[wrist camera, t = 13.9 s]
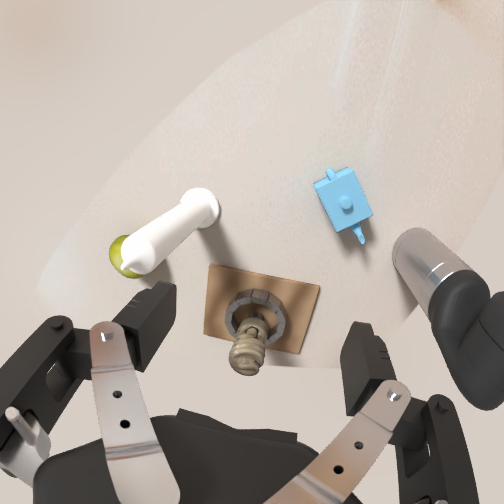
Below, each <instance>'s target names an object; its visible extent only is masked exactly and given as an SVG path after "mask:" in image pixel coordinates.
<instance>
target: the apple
mask: <svg viewBox="0 0 504 504" xmlns="http://www.w3.org/2000/svg"><path fill="white" fill-rule="evenodd" d="M129 236H130V235H124V236H120V237H118V238H117V239H116V240H115V241H114V242H113V243H112V245H111V246H110V250H109V258H110V261H111V263H112V265H113V266H114V267H115V269H116V270H117V271H118V272H119V273H121V274H122V275H123V276H125V277H127V278H132V279H136V278H140V277H142V276H143V275H145V274H137V273H135V272H133V271H131V270H130V269H126V270H124V271H123V270H121V265H122V264H123V262H124V261H123V259H122V256H121V247H122V244H123V242H124V240H125V239H126V238H127V237H129Z"/></svg>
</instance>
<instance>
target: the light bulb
mask: <svg viewBox="0 0 504 504" xmlns="http://www.w3.org/2000/svg"><path fill="white" fill-rule="evenodd" d="M267 335H268V328H267V325H266V323H265V322H264V318H263V316H262V314H261V313H260V312H253V313H251V314H250V316H249V318H247V319H245V320H243V321H242V323H241V324H240V326H239V328H238V331H237V338H236V339H235V341H234V344H233V346H232V349H231V351H230V353H229V363H230V365H231V367H232V368H233V369H234V370H235V371H236V372H238V373H239V374H242V375H246V376H253V375H256V374H257V373H258V372H259V368H260V367H261V366H262V365H263V363H264V357H265V346H264V344H265V343H266V340H267Z"/></svg>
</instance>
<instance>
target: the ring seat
mask: <svg viewBox="0 0 504 504" xmlns="http://www.w3.org/2000/svg"><path fill="white" fill-rule="evenodd" d="M248 303H257V304H262V305H265V306H267V307H268V308H269V309H271V310H272V311H273V312H275V314H276V317H277V319H278V323H277V324H276V325H275V326H274V327H273V328H271V329H270V330H268V335H267V340H266V343H265V344H264V345H268V344H272V343H273V342H275V341H276V340H277V339H278V338H280V337H281V336H282V335H283V331H284V328H285V324H286V310H285V308H284V305H283V303H282V301H281V300H280V299H279V298H278V297H276V296H275V295H274V294H273V293H271V292H269V291H266V290H261V289H256V288H254V289H253V288H252V289H248V290H244V291H240V292H238V293H237V294H236V295H235V296H234V298H233V299H232V300H231V301H230V302H229V305H228V307H227V309H226V314H225V325H226V327H227V329H228V331H229V333H230V335H231V336H233V337H234V338H237V331H238V328H239V326H240V324H239V323H238V321H237V319H236V317H235V315H234V312H235V310H236V309H237V308H238V307H239V306H240V305H244V304H248Z"/></svg>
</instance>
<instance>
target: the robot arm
mask: <svg viewBox="0 0 504 504" xmlns="http://www.w3.org/2000/svg"><path fill="white" fill-rule="evenodd" d="M392 259H393V263H394V265H395V267H396V269H397V270H398V272H399V273H400V275H401V276H402V278H403V280H404V281H405V283H406V284H407V286H408V287H409V289H410V290H411V292H412V293H413V295H414V296H415V298H416V300H417V301H418V303H419V304H420V306H421V308H422V309H423V311H424V312H425V314H426V316H427V317H428V319H429V321H430V322H431V328H432V332H433V335H434V337H435V339H436V341H437V343H438V345H439V348H440V350H441V352H442V355H443V357H444V359H445V362H446V364H447V367H448V369H449V371H450V373H451V376H452V378H453V380H454V381H455V384H456V385H457V387H458V389H459V390H460V392H461V393H462V394H463V396H464V397H465V398H466V399H467V400H468V401H469V402H470V403H471V404H472V405H473V406H475V407H476V408H479V409H481V410H485V411H488V410H493V409H495V408H497V407H498V406H499V405H501V404H502V403H503V402H504V291H502V292H498V293H496V294H494V295H493V297H492V298H491V299H490V291H489V288H488V285H487V284H486V282H485V281H484V280H483V279H482V278H481V277H480V276H479V275H478V274H477V273H476V272H475V271H474V270H473V269H471V268H470V267H469V266H468V265H467V264H466V263H465V262H464V261H462V260H461V259H460V258H459V257H458V256H457V255H456V254H455V253H453V252H452V251H451V250H450V249H449V248H448V247H446V246H445V245H444V244H443V243H442V242H441V241H439V240H438V239H437V238H436V237H435V236H433V235H432V234H431V233H430V232H428V231H427V230H425V229H421V228H414V229H410V230H408V231H406V232H405V233H403V234H402V235H401V236H400V237H399V238H398V240H397V241H396V243H395V245H394V248H393V253H392ZM176 292H177V288H176V285H175V284H172V283H168V282H164V281H159V282H158V283H157V284H156V285H155V286H154V287H153V288H152V289H148V288H147V289H145V290H143V291H140V292H138V293H137V294H136V295H135V296H134V297H133V298H132V300H131V301H130V302H129V303H128V304H127V305H126V306H125V307H124V308H123V309H122V310H121V311H120V312H119V314H118V315H117V316H116V317H115V318H114V319H113V320H112V321H111V322H109V321H106V322H100V323H98V324H96V325H94V326H93V327H92V328H91V330H86V329H77V328H74V327H73V323H72V321H71V319H70V318H68V317H66V316H60V315H59V316H53V317H50V318H48V319H47V320H46V321H45V322H44V323H43V324H42V325H41V326H40V327H39V328H38V329H37V330H36V331H35V332H34V333H33V334H32V335H31V336H30V337H29V338H28V339H27V340H26V341H25V342H24V343H23V344H22V345H21V347H19V348H18V349H17V351H16V352H15V353H14V354H13V355H12V356H11V357H10V358H9V359H8V360H7V361H6V363H5V364H4V365H3V366H2V367H1V368H0V468H1V469H2V470H3V471H4V472H5V473H7V474H8V475H9V476H11V477H15V478H19V479H20V480H22V481H23V482H24V483H26V484H27V485H29V486H30V487H32V488H33V504H363V503H362V502H361V501H360V500H359V499H358V498H357V497H356V496H355V495H354V493H352V491H353V490H354V489H355V487H356V486H357V485H358V484H359V482H360V481H361V480H362V478H363V477H364V476H365V474H366V473H367V472H368V470H369V469H370V467H371V466H372V465H373V463H374V462H375V461H376V459H377V458H378V456H379V455H380V453H381V452H382V450H383V449H384V447H385V446H386V444H387V443H388V444H392V445H395V450H396V458H397V470H398V482H399V499H400V504H479V498H478V493H477V487H476V482H475V478H474V473H473V468H472V464H471V460H470V456H469V452H468V448H467V445H466V441H465V437H464V434H463V431H462V428H461V424H460V421H459V418H458V415H457V412H456V409H455V406H454V404H453V402H452V401H451V400H450V399H449V398H447V397H446V396H444V395H440V394H436V395H433V396H431V397H430V398H429V400H428V401H427V402H426V401H422V400H419V399H416V398H413V397H411V393H410V391H409V389H408V388H407V387H406V386H405V385H404V384H402V383H401V382H398V381H397V379H396V375H395V372H394V369H393V366H392V363H391V360H390V357H389V354H388V351H387V348H386V345H385V343H384V342H383V340H382V339H381V338H380V337H379V336H376V335H374V332H373V329H372V326H371V324H369V323H363V322H356V321H354V322H353V324H352V326H351V328H350V331H349V333H348V335H347V338H346V340H345V342H344V345H343V347H342V350H341V355H340V363H341V370H342V378H343V386H344V395H345V405H346V415H347V416H354V417H353V419H352V420H351V421H350V422H349V423H348V424H347V426H346V427H345V428H344V429H343V430H342V431H341V432H340V433H339V435H337V437H336V438H335V439H334V440H333V441H332V442H331V443H330V444H329V445H328V446H327V447H326V449H324V450H323V451H322V452H321V453H320V454H318V452H316V451H315V450H313V449H312V448H310V447H309V446H307V445H305V444H303V443H301V442H298V441H297V433H293V432H286V431H279V430H272V429H245V430H244V429H243V430H242V429H241V430H240V429H235V428H232V427H230V426H228V425H226V424H223V423H221V422H219V421H217V420H215V419H213V418H211V417H209V416H206V415H202V414H198V413H194V412H191V411H187V410H184V409H181V408H180V409H179V411H178V413H177V415H176V416H174V415H164V416H156V417H152V418H149V415H148V412H147V409H146V406H145V403H144V400H143V397H142V393H141V390H140V387H139V384H138V380H137V377H136V373H135V370H137V371H140V372H144V371H145V369H146V367H147V366H148V364H149V363H150V361H151V359H152V357H153V356H154V354H155V353H156V351H157V350H158V348H159V346H160V345H161V343H162V342H163V340H164V338H165V337H166V335H167V334H168V332H169V331H170V329H171V327H172V326H173V324H174V321H175V317H176ZM54 363H55V365H54ZM53 365H54V366H53ZM52 366H53V367H52ZM51 367H52V369H51V370H50V368H51ZM49 370H50V371H49ZM48 371H49V372H48ZM47 373H48V374H47ZM84 379H86V380H92V383H93V390H94V397H95V403H96V409H97V414H98V420H99V424H100V429H101V434H102V438H101V439H98V440H96V441H93V442H90V443H88V444H85V445H83V446H80V447H77V448H74V449H72V450H69V451H66V452H63V453H60V454H57V455H54V456H52V457H49V451H50V447H51V442H50V438H49V436H48V435H49V433H50V431H51V430H52V428H53V427H54V425H55V423H56V422H57V420H58V418H59V417H60V415H61V414H62V412H63V410H64V409H65V407H66V406H67V404H68V403H69V401H70V399H71V398H72V397H73V395H74V393H75V392H76V390H77V389H78V387H79V386H80V384H81V383H82V381H83V380H84ZM427 444H428V445H429V449H430V456H429V451H428V445H427ZM48 457H49V458H48Z"/></svg>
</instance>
